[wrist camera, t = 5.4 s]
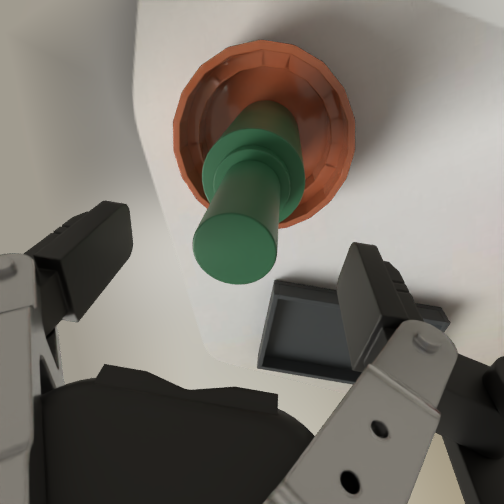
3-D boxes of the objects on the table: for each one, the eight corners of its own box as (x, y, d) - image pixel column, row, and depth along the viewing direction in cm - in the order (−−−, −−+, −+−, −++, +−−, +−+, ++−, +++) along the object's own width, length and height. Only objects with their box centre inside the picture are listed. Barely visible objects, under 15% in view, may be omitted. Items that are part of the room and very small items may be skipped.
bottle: (229, 164, 27) (159, 297, 12) (235, 95, 24) (151, 160, 9) (291, 174, 27) (296, 320, 12) (305, 106, 24) (335, 189, 9)
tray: (258, 353, 42) (256, 368, 40) (274, 280, 34) (273, 293, 32) (395, 376, 41) (401, 392, 39) (441, 307, 34) (451, 323, 32)
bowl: (190, 193, 30) (174, 216, 25) (192, 31, 22) (171, 25, 18) (321, 214, 29) (326, 241, 25) (366, 57, 22) (384, 58, 18)
